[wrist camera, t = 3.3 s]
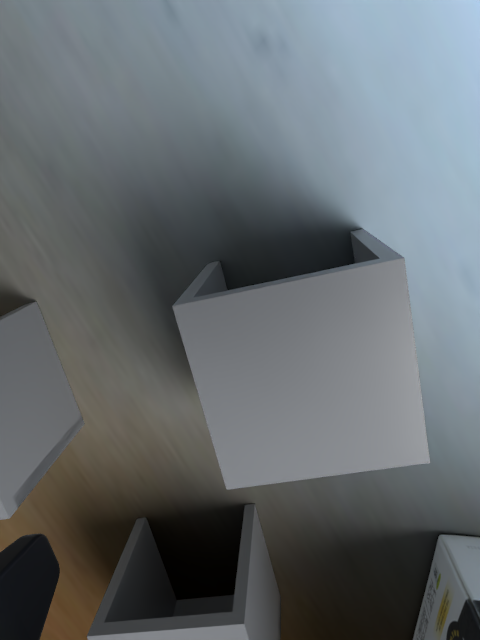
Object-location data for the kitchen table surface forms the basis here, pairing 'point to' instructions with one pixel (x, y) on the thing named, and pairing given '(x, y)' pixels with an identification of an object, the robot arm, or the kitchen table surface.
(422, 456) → the grey u-shaped block
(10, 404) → the grey bracket
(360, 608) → the kitchen table surface
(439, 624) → the tea box
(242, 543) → the open box
